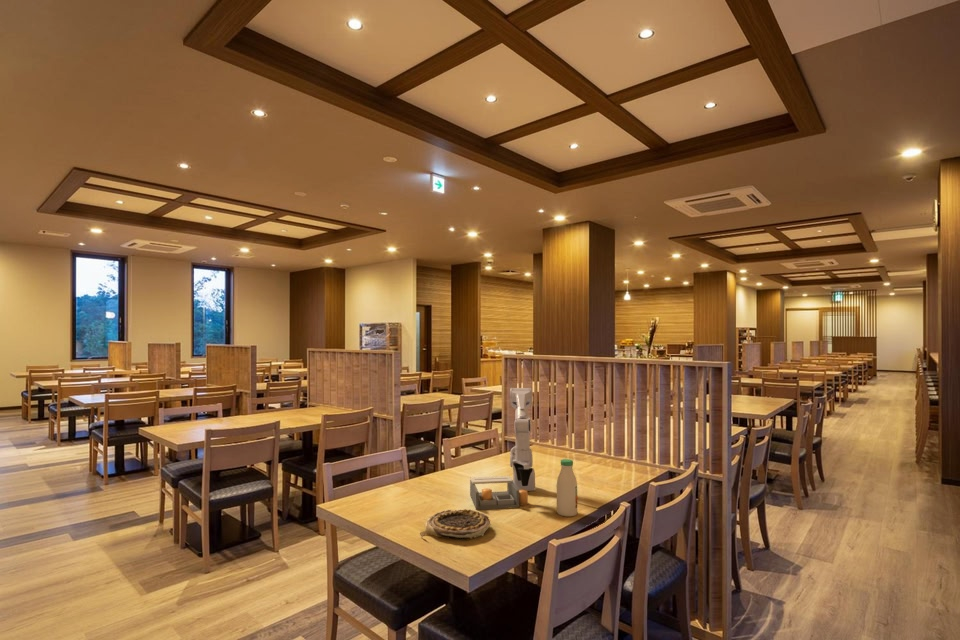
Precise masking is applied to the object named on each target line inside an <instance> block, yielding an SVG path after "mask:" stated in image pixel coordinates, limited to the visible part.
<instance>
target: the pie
mask: <svg viewBox="0 0 960 640" xmlns="http://www.w3.org/2000/svg"><path fill="white" fill-rule="evenodd" d="M490 525H491V520H490V517H489V516H488V515H486V514H484V513H481V512H478V510H473V509H472V510H471V509H466V508H465V509H458V510H457V509H455V510H451V509H448V510H442V511H439V512H436V513H435V514H434V515H432V516H430V517H429V518H428V519H427V520H426V521H425V526H424V527H425V528H424V529H425V530H424V531H420V533H419V534H420V535H419V536H420V537H421V539H423V541H426V542H428V543H429V541H427V540H426V539H424V536H427V535H431V536H435V537H437V538H448V539H450V540H463V541H469V540H471V539H476V538H482V537H484V536H485V533H486V531H487V530H488V529H489V528H490Z"/></svg>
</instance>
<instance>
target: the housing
mask: <svg viewBox="0 0 960 640" xmlns="http://www.w3.org/2000/svg"><path fill="white" fill-rule="evenodd" d="M506 487H507V490H505V491H504V490H502V491H492V489H491V488H482V489H481V492H479V490H478V488H477V486H476V484H472V482H471V480H470V479H469V496H470V499H471V501H472V504H473V506H474V509H475V511H478V510H497V509H515V508H516V509H519V508H520V505H519V490H518V488H517V487H516V486H515V484H514V483H506Z"/></svg>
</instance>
